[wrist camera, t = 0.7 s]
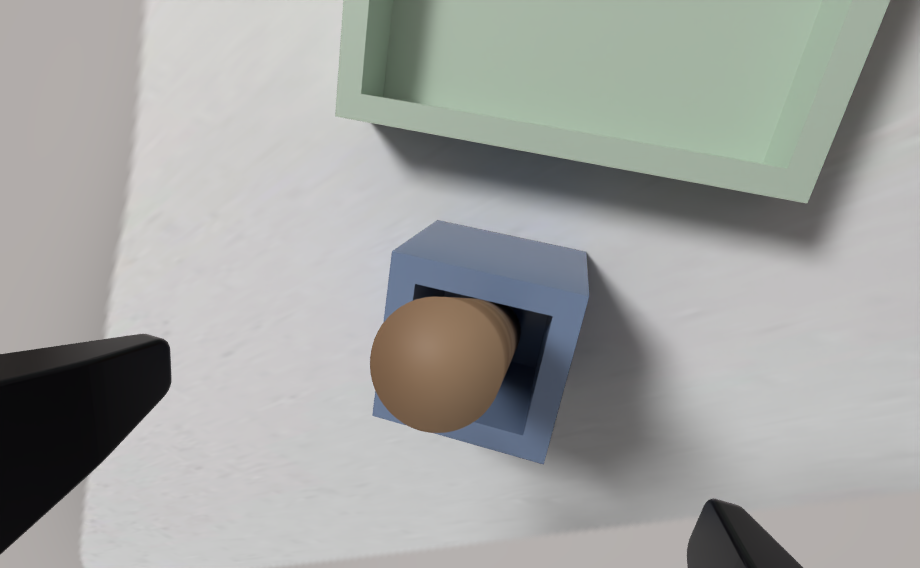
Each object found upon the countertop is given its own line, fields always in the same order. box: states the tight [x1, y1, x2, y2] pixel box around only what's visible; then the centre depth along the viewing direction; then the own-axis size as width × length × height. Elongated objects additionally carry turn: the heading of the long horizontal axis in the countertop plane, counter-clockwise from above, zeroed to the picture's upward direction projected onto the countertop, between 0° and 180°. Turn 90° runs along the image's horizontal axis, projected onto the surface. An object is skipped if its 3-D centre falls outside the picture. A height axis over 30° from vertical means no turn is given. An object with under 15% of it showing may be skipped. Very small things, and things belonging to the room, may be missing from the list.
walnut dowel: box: [370, 297, 521, 433], centre depth 14 cm, size 2×6×10 cm, turn 170°
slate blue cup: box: [372, 220, 589, 464], centre depth 17 cm, size 6×6×5 cm
